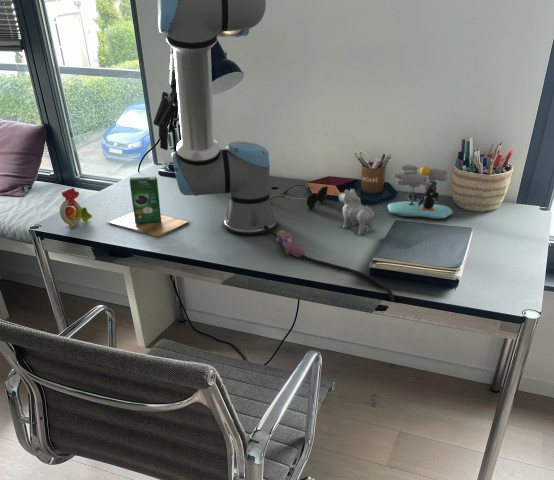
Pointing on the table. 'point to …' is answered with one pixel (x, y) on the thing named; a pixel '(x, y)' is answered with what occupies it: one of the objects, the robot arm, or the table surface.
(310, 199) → the sunglasses
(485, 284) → the table surface
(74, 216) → the bird rattle
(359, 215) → the dog figurine
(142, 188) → the coffee box
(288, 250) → the pink animal figurine
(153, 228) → the wooden board
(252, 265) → the table surface
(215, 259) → the table surface
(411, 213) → the penguin figurine
